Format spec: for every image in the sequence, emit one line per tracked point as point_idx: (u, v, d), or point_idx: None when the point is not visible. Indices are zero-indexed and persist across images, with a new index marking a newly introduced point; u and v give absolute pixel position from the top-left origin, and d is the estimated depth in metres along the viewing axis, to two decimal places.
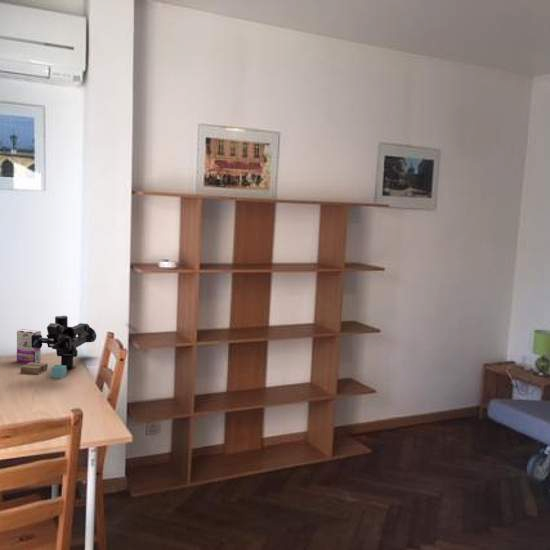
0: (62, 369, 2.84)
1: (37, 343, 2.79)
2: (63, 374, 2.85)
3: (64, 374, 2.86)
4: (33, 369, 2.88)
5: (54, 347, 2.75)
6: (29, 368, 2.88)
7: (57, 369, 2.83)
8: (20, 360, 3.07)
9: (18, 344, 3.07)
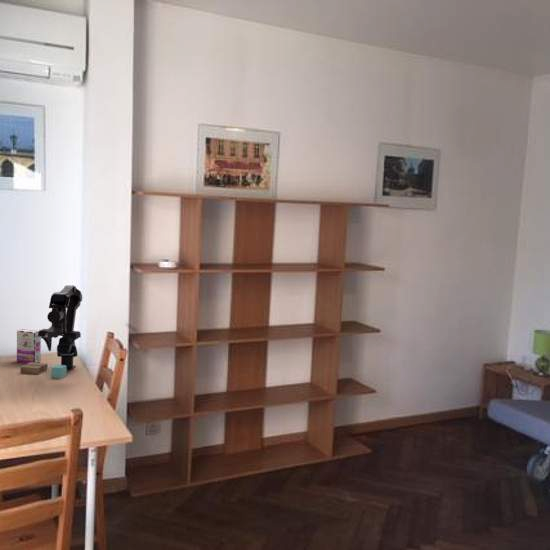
0: (62, 369, 2.84)
1: (49, 342, 2.85)
2: (63, 374, 2.85)
3: (64, 374, 2.86)
4: (33, 369, 2.88)
5: (69, 350, 2.84)
6: (29, 368, 2.88)
7: (57, 369, 2.83)
8: (20, 360, 3.07)
9: (18, 344, 3.07)
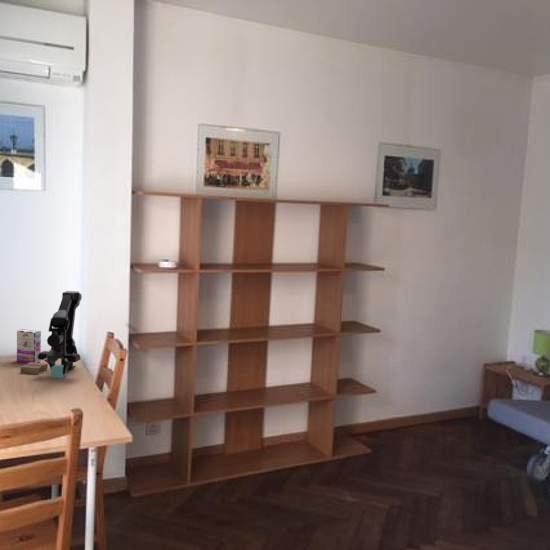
0: (62, 369, 2.84)
1: (53, 365, 2.86)
2: None
3: None
4: (33, 369, 2.88)
5: (65, 372, 2.86)
6: (29, 368, 2.88)
7: (57, 369, 2.83)
8: (20, 360, 3.07)
9: (18, 344, 3.07)
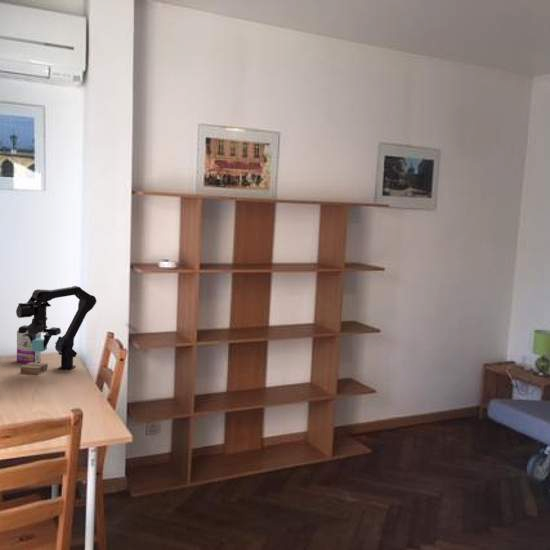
0: (43, 342, 2.88)
1: (33, 338, 2.89)
2: (43, 348, 2.89)
3: None
4: (33, 369, 2.88)
5: None
6: (29, 368, 2.88)
7: (38, 342, 2.87)
8: (20, 360, 3.07)
9: (18, 344, 3.07)
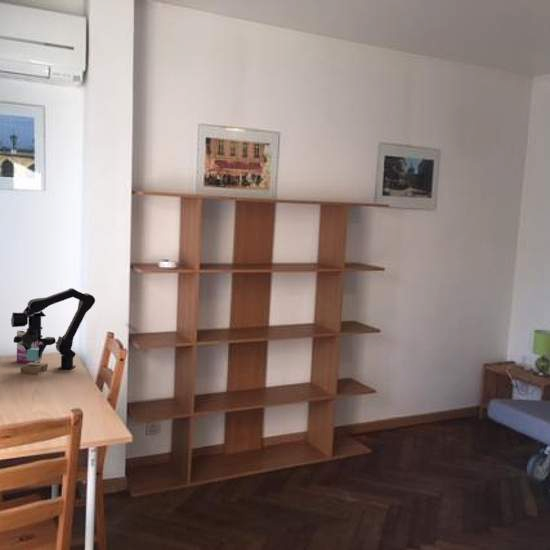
0: (37, 352, 2.90)
1: (28, 348, 2.92)
2: (38, 357, 2.91)
3: None
4: (33, 369, 2.88)
5: (40, 355, 2.92)
6: (29, 368, 2.88)
7: (32, 352, 2.89)
8: (20, 360, 3.07)
9: (18, 344, 3.07)
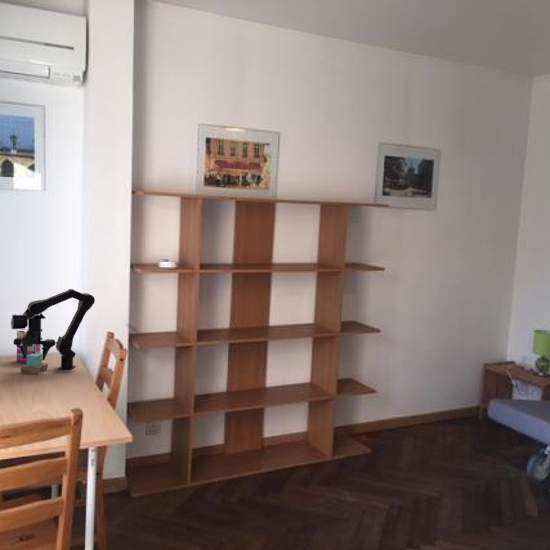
0: (37, 357, 2.90)
1: (24, 350, 2.92)
2: (38, 363, 2.91)
3: (39, 363, 2.93)
4: (33, 369, 2.88)
5: (44, 358, 2.92)
6: (29, 368, 2.88)
7: (32, 358, 2.89)
8: (20, 360, 3.07)
9: None
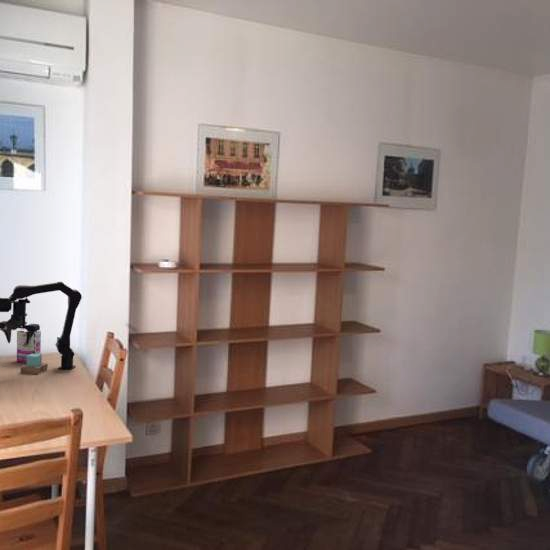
0: (37, 357, 2.90)
1: (8, 334, 2.90)
2: (38, 363, 2.91)
3: (39, 363, 2.93)
4: (33, 369, 2.88)
5: (28, 342, 2.90)
6: (29, 368, 2.88)
7: (32, 358, 2.89)
8: (20, 360, 3.07)
9: (18, 344, 3.07)
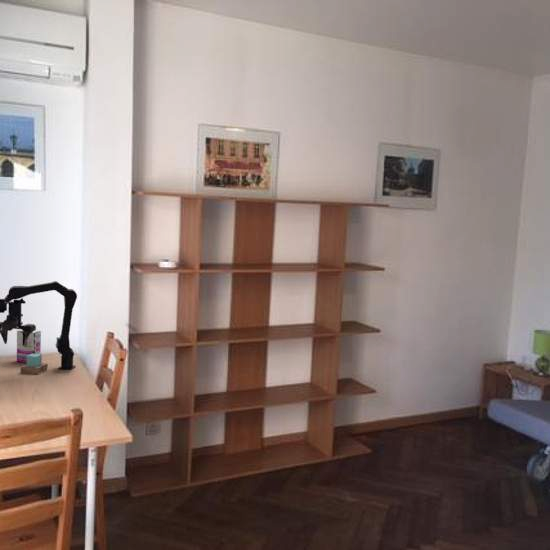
0: (37, 357, 2.90)
1: (5, 334, 2.90)
2: (38, 363, 2.91)
3: (39, 363, 2.93)
4: (33, 369, 2.88)
5: (24, 343, 2.90)
6: (29, 368, 2.88)
7: (32, 358, 2.89)
8: (20, 360, 3.07)
9: (18, 344, 3.07)
